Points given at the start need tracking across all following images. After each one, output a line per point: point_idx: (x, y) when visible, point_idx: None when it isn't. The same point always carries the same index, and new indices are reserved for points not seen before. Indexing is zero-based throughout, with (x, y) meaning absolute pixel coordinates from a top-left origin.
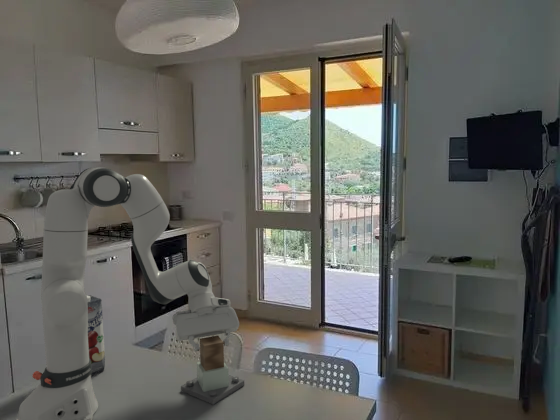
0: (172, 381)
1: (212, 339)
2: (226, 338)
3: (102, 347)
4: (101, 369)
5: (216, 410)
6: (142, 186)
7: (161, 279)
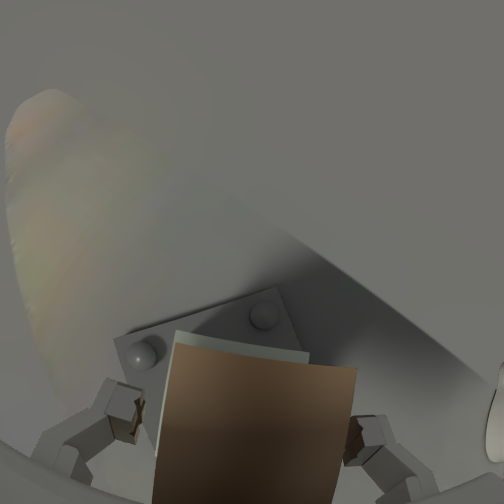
0: None
1: (237, 463)
2: (105, 414)
3: None
4: None
5: (276, 254)
6: None
7: None
